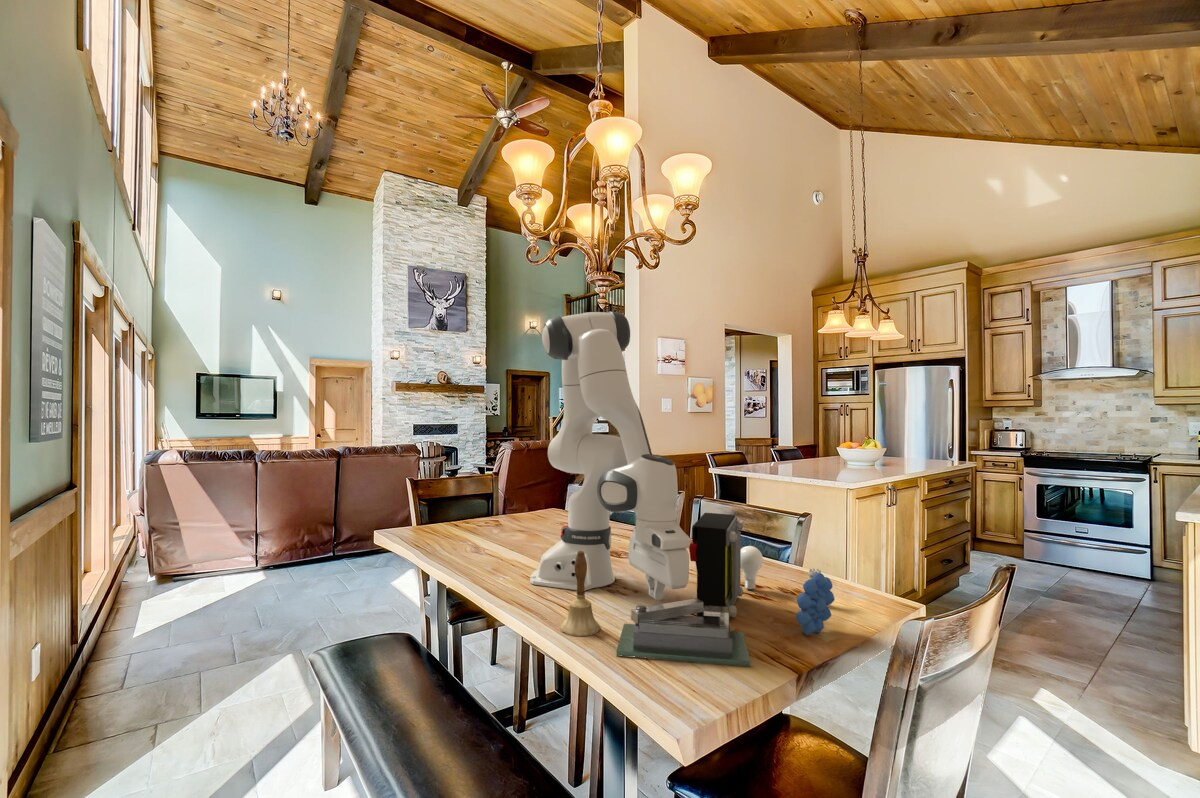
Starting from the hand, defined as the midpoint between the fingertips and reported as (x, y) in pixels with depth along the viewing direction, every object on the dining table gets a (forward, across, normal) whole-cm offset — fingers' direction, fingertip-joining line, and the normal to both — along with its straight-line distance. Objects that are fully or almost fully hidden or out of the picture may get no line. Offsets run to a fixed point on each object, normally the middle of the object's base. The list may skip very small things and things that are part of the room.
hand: (655, 597), depth 115 cm
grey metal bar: (+2, +6, 0) cm, 6 cm away
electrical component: (+6, -5, +19) cm, 20 cm away
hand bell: (+6, -5, -15) cm, 17 cm away
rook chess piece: (+6, +2, +42) cm, 42 cm away
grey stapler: (+6, +11, 0) cm, 12 cm away
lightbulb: (+6, -12, +34) cm, 37 cm away
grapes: (+6, +14, +29) cm, 33 cm away
